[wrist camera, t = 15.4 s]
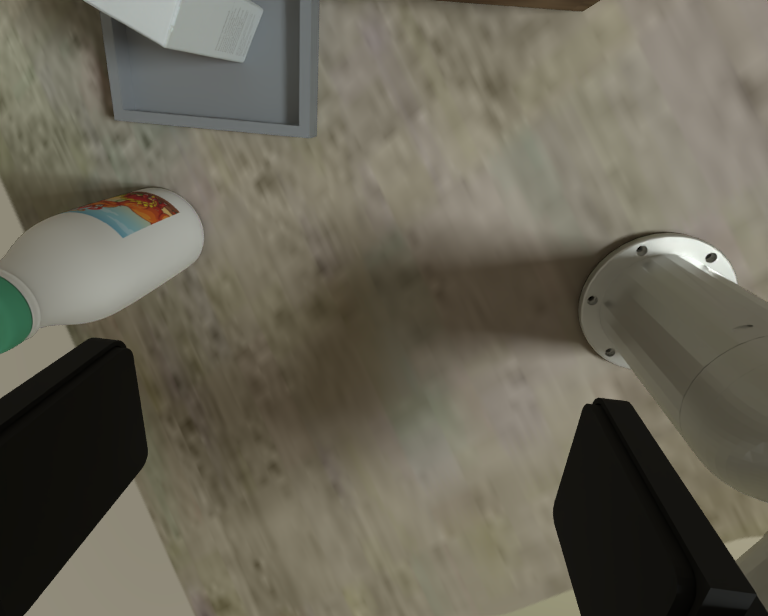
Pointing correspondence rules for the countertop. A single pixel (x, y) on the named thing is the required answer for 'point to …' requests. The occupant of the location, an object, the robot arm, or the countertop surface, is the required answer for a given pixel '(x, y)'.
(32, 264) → the milk bottle
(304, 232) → the countertop surface
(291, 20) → the grey tray
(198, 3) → the skincare box
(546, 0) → the walnut bin
